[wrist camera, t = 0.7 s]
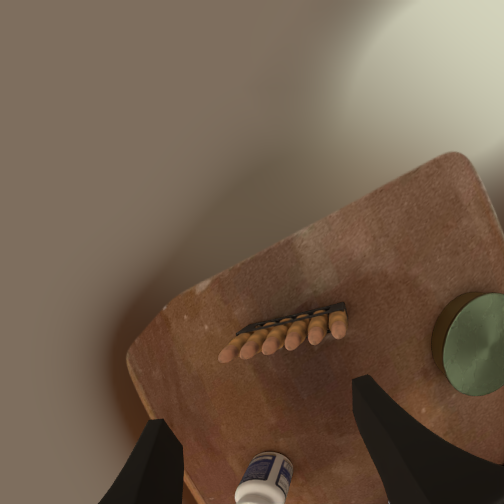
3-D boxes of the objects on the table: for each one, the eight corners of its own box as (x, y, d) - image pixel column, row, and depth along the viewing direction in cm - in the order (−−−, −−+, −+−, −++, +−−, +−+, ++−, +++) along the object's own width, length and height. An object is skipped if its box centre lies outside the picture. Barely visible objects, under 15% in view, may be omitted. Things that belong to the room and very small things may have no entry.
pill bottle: (244, 472, 34) (219, 518, 25) (260, 444, 34) (236, 489, 24) (282, 488, 33) (266, 537, 23) (301, 460, 32) (288, 510, 23)
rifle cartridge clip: (251, 341, 35) (211, 374, 23) (247, 325, 35) (205, 350, 23) (348, 318, 32) (355, 345, 21) (344, 301, 33) (349, 319, 21)
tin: (507, 366, 27) (527, 377, 22) (432, 392, 29) (445, 409, 25) (502, 280, 28) (523, 281, 23) (423, 302, 30) (437, 308, 26)
